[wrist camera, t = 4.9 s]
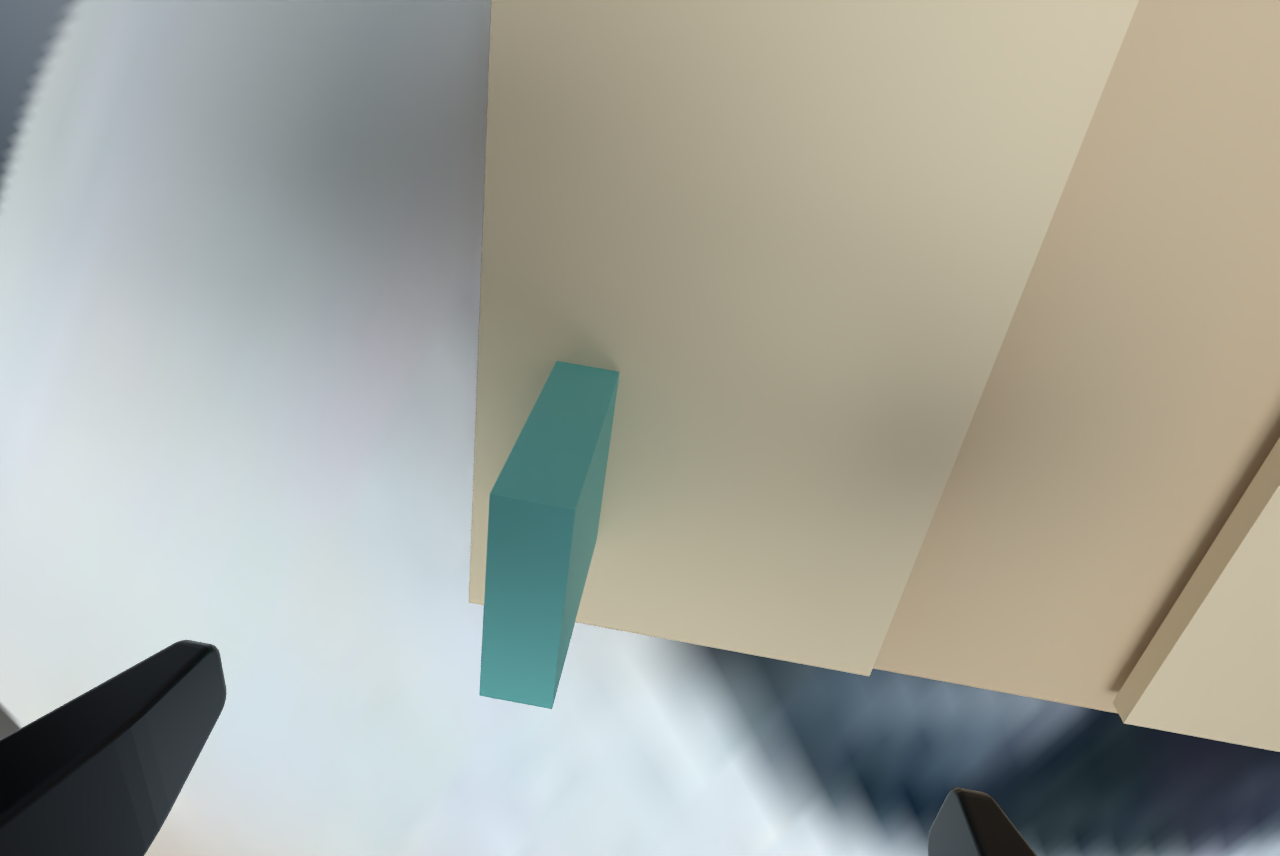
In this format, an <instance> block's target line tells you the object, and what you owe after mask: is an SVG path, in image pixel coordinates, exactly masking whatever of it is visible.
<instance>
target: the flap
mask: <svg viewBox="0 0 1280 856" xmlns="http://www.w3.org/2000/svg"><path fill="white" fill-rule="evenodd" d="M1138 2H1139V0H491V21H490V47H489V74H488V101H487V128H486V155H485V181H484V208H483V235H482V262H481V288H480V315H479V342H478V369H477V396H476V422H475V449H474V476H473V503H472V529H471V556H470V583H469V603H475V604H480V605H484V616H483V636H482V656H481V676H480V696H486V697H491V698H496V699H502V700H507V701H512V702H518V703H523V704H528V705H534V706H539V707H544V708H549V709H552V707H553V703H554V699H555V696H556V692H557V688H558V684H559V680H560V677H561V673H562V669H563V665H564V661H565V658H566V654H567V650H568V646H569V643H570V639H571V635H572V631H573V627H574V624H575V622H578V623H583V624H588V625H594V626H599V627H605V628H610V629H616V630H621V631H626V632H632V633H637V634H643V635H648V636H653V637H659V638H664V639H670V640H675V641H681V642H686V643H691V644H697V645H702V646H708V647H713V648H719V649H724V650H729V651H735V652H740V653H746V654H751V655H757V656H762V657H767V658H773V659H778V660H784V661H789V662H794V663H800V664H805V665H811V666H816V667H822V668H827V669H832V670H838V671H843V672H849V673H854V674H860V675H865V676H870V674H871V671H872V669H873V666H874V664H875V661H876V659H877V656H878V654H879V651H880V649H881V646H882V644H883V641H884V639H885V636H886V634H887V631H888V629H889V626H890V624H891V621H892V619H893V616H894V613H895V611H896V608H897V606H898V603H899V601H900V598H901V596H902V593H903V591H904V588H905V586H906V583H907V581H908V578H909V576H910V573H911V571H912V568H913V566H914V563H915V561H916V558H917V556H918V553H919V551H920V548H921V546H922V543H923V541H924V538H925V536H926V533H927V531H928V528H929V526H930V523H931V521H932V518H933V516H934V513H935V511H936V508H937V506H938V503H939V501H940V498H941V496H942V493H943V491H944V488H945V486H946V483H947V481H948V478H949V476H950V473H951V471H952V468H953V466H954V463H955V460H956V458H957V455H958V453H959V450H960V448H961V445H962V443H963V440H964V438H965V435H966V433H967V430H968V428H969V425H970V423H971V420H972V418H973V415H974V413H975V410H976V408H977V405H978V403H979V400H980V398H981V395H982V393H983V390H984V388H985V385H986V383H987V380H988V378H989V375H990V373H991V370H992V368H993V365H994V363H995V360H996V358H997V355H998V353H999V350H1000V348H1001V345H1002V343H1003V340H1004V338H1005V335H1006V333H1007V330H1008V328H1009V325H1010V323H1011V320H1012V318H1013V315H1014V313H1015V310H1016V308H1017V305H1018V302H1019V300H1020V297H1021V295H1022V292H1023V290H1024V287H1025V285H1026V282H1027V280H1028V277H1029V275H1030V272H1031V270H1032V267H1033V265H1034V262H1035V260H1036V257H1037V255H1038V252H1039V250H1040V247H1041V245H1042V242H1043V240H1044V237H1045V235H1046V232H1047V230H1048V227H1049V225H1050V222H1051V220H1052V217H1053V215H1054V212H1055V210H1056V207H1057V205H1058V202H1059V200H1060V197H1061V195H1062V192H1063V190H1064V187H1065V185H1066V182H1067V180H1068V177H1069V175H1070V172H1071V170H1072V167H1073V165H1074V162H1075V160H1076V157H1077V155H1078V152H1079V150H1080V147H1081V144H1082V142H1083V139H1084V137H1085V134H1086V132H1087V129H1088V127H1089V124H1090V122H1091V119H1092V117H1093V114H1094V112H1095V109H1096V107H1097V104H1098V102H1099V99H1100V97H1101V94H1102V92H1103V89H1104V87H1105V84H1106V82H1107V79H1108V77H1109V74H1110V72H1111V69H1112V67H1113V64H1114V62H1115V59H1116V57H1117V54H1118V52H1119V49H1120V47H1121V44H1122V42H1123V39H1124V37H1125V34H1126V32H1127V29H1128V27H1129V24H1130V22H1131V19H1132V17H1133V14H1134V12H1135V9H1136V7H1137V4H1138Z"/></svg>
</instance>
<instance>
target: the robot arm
mask: <svg viewBox="0 0 1280 856" xmlns="http://www.w3.org/2000/svg"><path fill="white" fill-rule="evenodd" d="M225 700H226V685H225V680H224V674H223V669H222V663H221V658H220V653H219V650H218V649H217V648H216V647H215V646H214V645H212V644H207V643H202V642H196V641H191V640H182V641H179V642H176V643H174V644H172V645H171V646H169V647H167V648H165V649H163V650H162V651H160V652H158V653H156V654H154V655H153V656H151V657H149V658H147V659H145V660H144V661H142V662H140V663H138V664H136V665H135V666H133V667H131V668H129V669H127V670H126V671H124V672H122V673H120V674H118V675H117V676H115V677H113V678H111V679H109V680H108V681H106V682H104V683H102V684H100V685H99V686H97V687H95V688H93V689H91V690H90V691H88V692H86V693H84V694H82V695H81V696H79V697H77V698H75V699H73V700H72V701H70V702H68V703H66V704H64V705H63V706H61V707H59V708H57V709H55V710H54V711H52V712H50V713H48V714H46V715H45V716H43V717H41V718H39V719H37V720H35V721H34V722H32V723H30V724H28V725H26V726H25V727H23V728H21V729H19V730H17V731H16V732H14V733H12V734H10V735H8V736H7V737H5V738H3V739H1V740H0V856H144V855H145V853H146V852H147V850H148V848H149V847H150V845H151V844H152V842H153V840H154V839H155V837H156V835H157V834H158V832H159V831H160V829H161V827H162V825H163V823H164V821H165V820H166V818H167V816H168V814H169V812H170V811H171V809H172V807H173V805H174V803H175V801H176V799H177V797H178V795H179V793H180V791H181V789H182V787H183V785H184V783H185V781H186V780H187V778H188V776H189V774H190V772H191V770H192V768H193V766H194V764H195V762H196V760H197V758H198V756H199V754H200V752H201V750H202V749H203V747H204V745H205V743H206V741H207V739H208V737H209V735H210V733H211V731H212V729H213V727H214V725H215V723H216V721H217V719H218V718H219V716H220V714H221V712H222V709H223V707H224V704H225ZM928 856H1037V855H1036V854H1035V852H1034V851H1033V850H1032V849H1031V847H1030V846H1029V845H1028V843H1027V842H1026V841H1025V839H1024V838H1023V837H1022V835H1021V834H1020V833H1019V832H1018V830H1017V829H1016V828H1015V826H1014V825H1013V824H1012V822H1011V821H1010V820H1009V818H1008V817H1007V816H1006V814H1005V813H1004V812H1003V811H1002V809H1001V808H1000V807H999V805H998V804H997V803H996V801H995V800H994V799H993V798H992V797H990V796H989V795H988V794H986V793H983V792H979V791H974V790H968V789H963V788H954V789H952V790H951V791H950V792H949V793H948V795H947V797H946V799H945V801H944V803H943V805H942V807H941V809H940V810H939V812H938V814H937V816H936V818H935V820H934V822H933V824H932V826H931V829H930V832H929V838H928Z"/></svg>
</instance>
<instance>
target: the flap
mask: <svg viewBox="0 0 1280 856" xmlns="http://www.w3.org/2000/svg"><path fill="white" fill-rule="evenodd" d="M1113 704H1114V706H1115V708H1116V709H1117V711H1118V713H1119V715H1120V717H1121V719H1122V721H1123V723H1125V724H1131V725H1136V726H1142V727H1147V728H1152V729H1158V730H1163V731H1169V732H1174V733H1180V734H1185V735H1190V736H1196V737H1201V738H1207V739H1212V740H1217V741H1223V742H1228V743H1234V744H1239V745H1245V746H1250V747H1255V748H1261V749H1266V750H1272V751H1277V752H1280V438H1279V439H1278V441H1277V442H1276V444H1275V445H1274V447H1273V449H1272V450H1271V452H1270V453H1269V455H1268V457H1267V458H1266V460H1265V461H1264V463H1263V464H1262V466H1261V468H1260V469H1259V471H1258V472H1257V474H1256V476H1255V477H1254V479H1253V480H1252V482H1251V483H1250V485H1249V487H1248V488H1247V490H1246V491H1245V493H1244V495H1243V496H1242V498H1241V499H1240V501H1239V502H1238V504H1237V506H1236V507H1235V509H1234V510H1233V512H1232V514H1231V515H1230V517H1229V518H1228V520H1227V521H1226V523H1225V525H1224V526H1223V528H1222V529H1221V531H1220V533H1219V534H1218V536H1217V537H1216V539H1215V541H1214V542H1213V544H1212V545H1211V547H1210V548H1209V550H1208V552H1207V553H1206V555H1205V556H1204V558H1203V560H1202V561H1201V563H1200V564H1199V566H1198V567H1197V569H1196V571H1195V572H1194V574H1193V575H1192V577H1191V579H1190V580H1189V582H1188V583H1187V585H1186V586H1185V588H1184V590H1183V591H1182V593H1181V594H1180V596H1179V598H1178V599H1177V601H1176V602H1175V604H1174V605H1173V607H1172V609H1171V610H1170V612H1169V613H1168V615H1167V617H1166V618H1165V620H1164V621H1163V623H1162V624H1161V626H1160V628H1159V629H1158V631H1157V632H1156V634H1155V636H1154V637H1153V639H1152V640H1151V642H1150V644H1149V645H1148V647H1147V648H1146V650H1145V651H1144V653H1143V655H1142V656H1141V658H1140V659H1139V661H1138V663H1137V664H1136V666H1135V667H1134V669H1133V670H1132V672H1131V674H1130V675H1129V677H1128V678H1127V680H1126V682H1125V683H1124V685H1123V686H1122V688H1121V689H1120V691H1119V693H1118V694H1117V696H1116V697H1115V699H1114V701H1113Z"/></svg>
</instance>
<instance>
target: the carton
mask: <svg viewBox="0 0 1280 856" xmlns="http://www.w3.org/2000/svg"><path fill="white" fill-rule="evenodd" d="M1279 438H1280V0H1139V2H1138V4H1137V7H1136V9H1135V12H1134V14H1133V17H1132V19H1131V22H1130V24H1129V27H1128V29H1127V32H1126V34H1125V37H1124V39H1123V42H1122V44H1121V47H1120V49H1119V52H1118V54H1117V57H1116V59H1115V62H1114V64H1113V67H1112V69H1111V72H1110V74H1109V77H1108V79H1107V82H1106V84H1105V87H1104V89H1103V92H1102V94H1101V97H1100V99H1099V102H1098V104H1097V107H1096V109H1095V112H1094V114H1093V117H1092V119H1091V122H1090V124H1089V127H1088V129H1087V132H1086V134H1085V137H1084V139H1083V142H1082V144H1081V147H1080V150H1079V152H1078V155H1077V157H1076V160H1075V162H1074V165H1073V167H1072V170H1071V172H1070V175H1069V177H1068V180H1067V182H1066V185H1065V187H1064V190H1063V192H1062V195H1061V197H1060V200H1059V202H1058V205H1057V207H1056V210H1055V212H1054V215H1053V217H1052V220H1051V222H1050V225H1049V227H1048V230H1047V232H1046V235H1045V237H1044V240H1043V242H1042V245H1041V247H1040V250H1039V252H1038V255H1037V257H1036V260H1035V262H1034V265H1033V267H1032V270H1031V272H1030V275H1029V277H1028V280H1027V282H1026V285H1025V287H1024V290H1023V292H1022V295H1021V297H1020V300H1019V302H1018V305H1017V308H1016V310H1015V313H1014V315H1013V318H1012V320H1011V323H1010V325H1009V328H1008V330H1007V333H1006V335H1005V338H1004V340H1003V343H1002V345H1001V348H1000V350H999V353H998V355H997V358H996V360H995V363H994V365H993V368H992V370H991V373H990V375H989V378H988V380H987V383H986V385H985V388H984V390H983V393H982V395H981V398H980V400H979V403H978V405H977V408H976V410H975V413H974V415H973V418H972V420H971V423H970V425H969V428H968V430H967V433H966V435H965V438H964V440H963V443H962V445H961V448H960V450H959V453H958V455H957V458H956V460H955V463H954V466H953V468H952V471H951V473H950V476H949V478H948V481H947V483H946V486H945V488H944V491H943V493H942V496H941V498H940V501H939V503H938V506H937V508H936V511H935V513H934V516H933V518H932V521H931V523H930V526H929V528H928V531H927V533H926V536H925V538H924V541H923V543H922V546H921V548H920V551H919V553H918V556H917V558H916V561H915V563H914V566H913V568H912V571H911V573H910V576H909V578H908V581H907V583H906V586H905V588H904V591H903V593H902V596H901V598H900V601H899V603H898V606H897V608H896V611H895V613H894V616H893V619H892V621H891V624H890V626H889V629H888V631H887V634H886V636H885V639H884V641H883V644H882V646H881V649H880V651H879V654H878V656H877V659H876V661H875V664H874V666H873V668H874V669H879V670H885V671H890V672H895V673H901V674H906V675H912V676H917V677H923V678H928V679H933V680H939V681H944V682H950V683H955V684H961V685H966V686H972V687H977V688H982V689H988V690H993V691H999V692H1004V693H1010V694H1015V695H1020V696H1026V697H1031V698H1037V699H1042V700H1048V701H1053V702H1058V703H1064V704H1069V705H1075V706H1080V707H1086V708H1091V709H1096V710H1102V711H1107V712H1113V713H1118V711H1117V709H1116V708H1115V706H1114V704H1113V701H1114V699H1115V697H1116V696H1117V694H1118V693H1119V691H1120V689H1121V688H1122V686H1123V685H1124V683H1125V682H1126V680H1127V678H1128V677H1129V675H1130V674H1131V672H1132V670H1133V669H1134V667H1135V666H1136V664H1137V663H1138V661H1139V659H1140V658H1141V656H1142V655H1143V653H1144V651H1145V650H1146V648H1147V647H1148V645H1149V644H1150V642H1151V640H1152V639H1153V637H1154V636H1155V634H1156V632H1157V631H1158V629H1159V628H1160V626H1161V624H1162V623H1163V621H1164V620H1165V618H1166V617H1167V615H1168V613H1169V612H1170V610H1171V609H1172V607H1173V605H1174V604H1175V602H1176V601H1177V599H1178V598H1179V596H1180V594H1181V593H1182V591H1183V590H1184V588H1185V586H1186V585H1187V583H1188V582H1189V580H1190V579H1191V577H1192V575H1193V574H1194V572H1195V571H1196V569H1197V567H1198V566H1199V564H1200V563H1201V561H1202V560H1203V558H1204V556H1205V555H1206V553H1207V552H1208V550H1209V548H1210V547H1211V545H1212V544H1213V542H1214V541H1215V539H1216V537H1217V536H1218V534H1219V533H1220V531H1221V529H1222V528H1223V526H1224V525H1225V523H1226V521H1227V520H1228V518H1229V517H1230V515H1231V514H1232V512H1233V510H1234V509H1235V507H1236V506H1237V504H1238V502H1239V501H1240V499H1241V498H1242V496H1243V495H1244V493H1245V491H1246V490H1247V488H1248V487H1249V485H1250V483H1251V482H1252V480H1253V479H1254V477H1255V476H1256V474H1257V472H1258V471H1259V469H1260V468H1261V466H1262V464H1263V463H1264V461H1265V460H1266V458H1267V457H1268V455H1269V453H1270V452H1271V450H1272V449H1273V447H1274V445H1275V444H1276V442H1277V441H1278V439H1279ZM1118 714H1119V713H1118Z"/></svg>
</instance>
